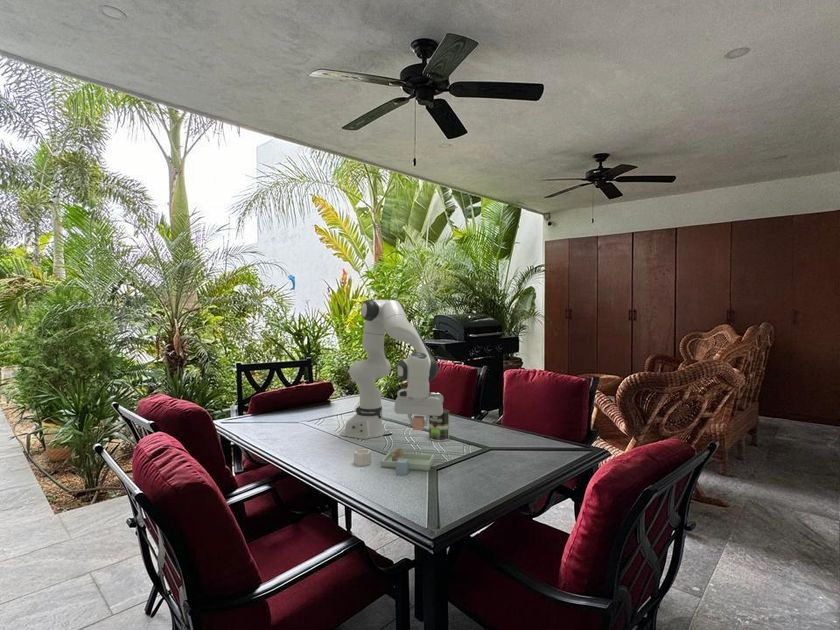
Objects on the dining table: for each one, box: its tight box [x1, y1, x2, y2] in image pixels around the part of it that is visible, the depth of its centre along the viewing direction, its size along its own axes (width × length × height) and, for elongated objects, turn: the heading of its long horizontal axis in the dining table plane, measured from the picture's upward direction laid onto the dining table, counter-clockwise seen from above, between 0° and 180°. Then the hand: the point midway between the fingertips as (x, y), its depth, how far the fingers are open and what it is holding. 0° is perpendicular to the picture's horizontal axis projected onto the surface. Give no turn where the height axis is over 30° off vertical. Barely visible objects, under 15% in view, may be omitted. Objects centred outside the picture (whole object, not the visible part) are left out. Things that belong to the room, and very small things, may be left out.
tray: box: [380, 451, 435, 472], centre depth 183 cm, size 20×12×3 cm, turn 78°
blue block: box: [395, 459, 409, 476], centre depth 174 cm, size 4×4×5 cm
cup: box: [353, 448, 372, 467], centre depth 184 cm, size 7×7×5 cm
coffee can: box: [428, 408, 450, 442], centre depth 219 cm, size 10×10×14 cm
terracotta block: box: [412, 415, 425, 431], centre depth 182 cm, size 4×4×5 cm
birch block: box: [391, 447, 405, 462], centre depth 184 cm, size 4×4×5 cm
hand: (418, 425), depth 182 cm, fingers closed on terracotta block, 4 cm apart
